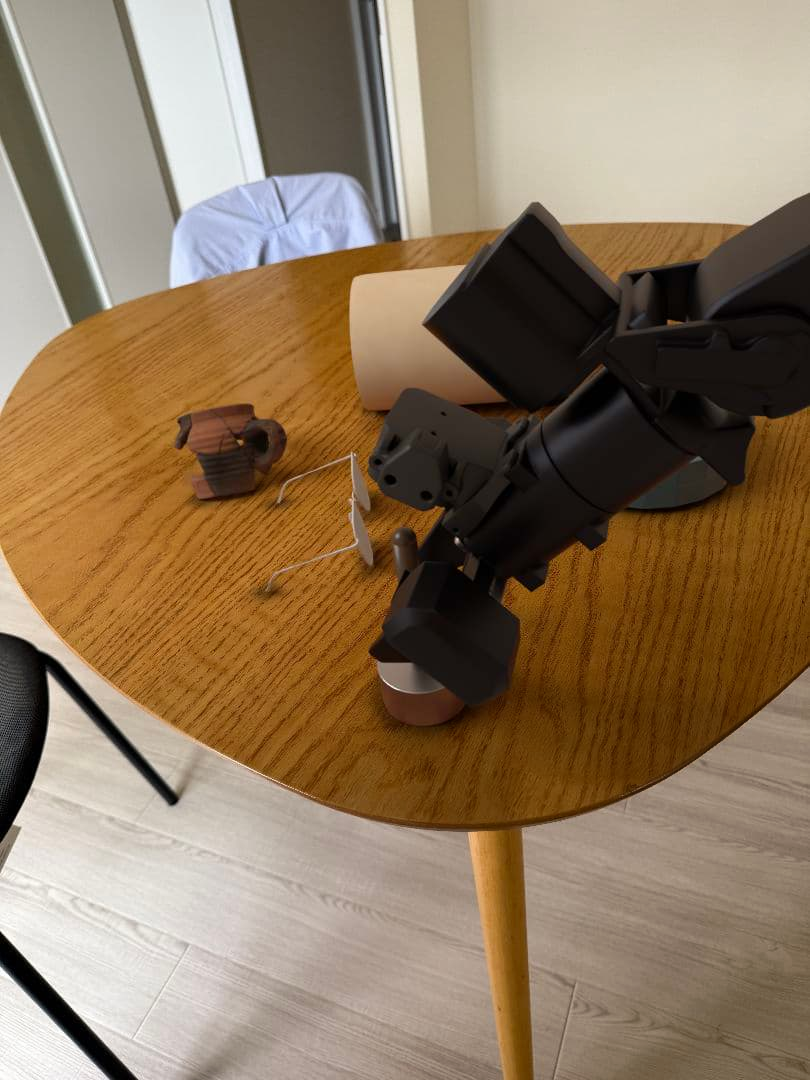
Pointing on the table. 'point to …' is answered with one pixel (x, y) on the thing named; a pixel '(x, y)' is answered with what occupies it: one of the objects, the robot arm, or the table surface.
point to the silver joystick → (406, 683)
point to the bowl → (683, 487)
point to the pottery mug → (230, 447)
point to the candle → (407, 341)
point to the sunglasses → (354, 516)
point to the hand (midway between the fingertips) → (393, 613)
